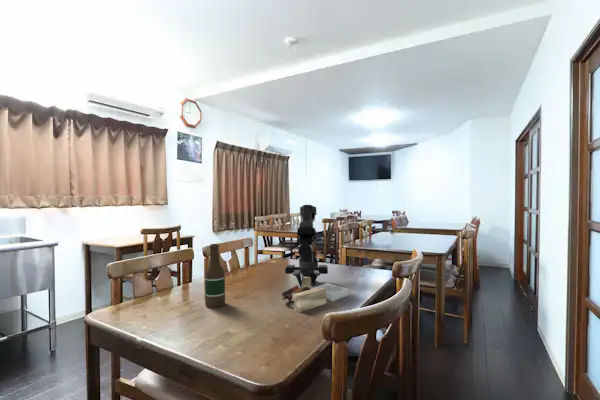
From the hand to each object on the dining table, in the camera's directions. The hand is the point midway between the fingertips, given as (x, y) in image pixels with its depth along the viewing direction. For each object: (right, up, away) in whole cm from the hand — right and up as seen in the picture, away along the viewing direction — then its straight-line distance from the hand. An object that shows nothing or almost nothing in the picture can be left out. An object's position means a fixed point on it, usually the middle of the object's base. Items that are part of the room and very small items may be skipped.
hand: (306, 288), depth 139 cm
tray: (+9, -1, -6) cm, 11 cm away
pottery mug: (-4, -2, -16) cm, 16 cm away
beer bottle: (-37, -2, -16) cm, 40 cm away
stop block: (+1, -2, -20) cm, 20 cm away
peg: (0, -1, 0) cm, 1 cm away
